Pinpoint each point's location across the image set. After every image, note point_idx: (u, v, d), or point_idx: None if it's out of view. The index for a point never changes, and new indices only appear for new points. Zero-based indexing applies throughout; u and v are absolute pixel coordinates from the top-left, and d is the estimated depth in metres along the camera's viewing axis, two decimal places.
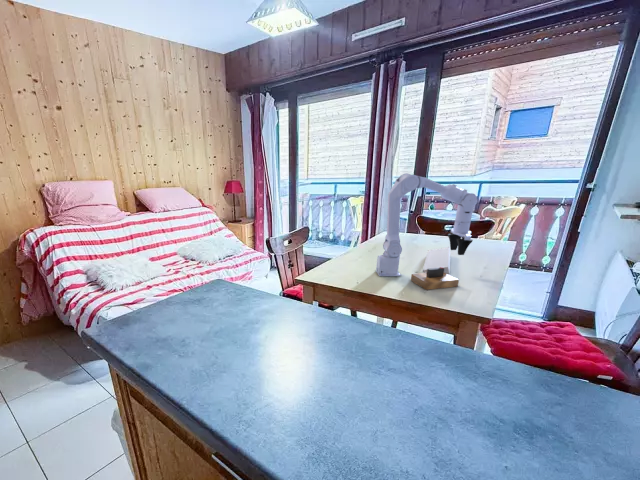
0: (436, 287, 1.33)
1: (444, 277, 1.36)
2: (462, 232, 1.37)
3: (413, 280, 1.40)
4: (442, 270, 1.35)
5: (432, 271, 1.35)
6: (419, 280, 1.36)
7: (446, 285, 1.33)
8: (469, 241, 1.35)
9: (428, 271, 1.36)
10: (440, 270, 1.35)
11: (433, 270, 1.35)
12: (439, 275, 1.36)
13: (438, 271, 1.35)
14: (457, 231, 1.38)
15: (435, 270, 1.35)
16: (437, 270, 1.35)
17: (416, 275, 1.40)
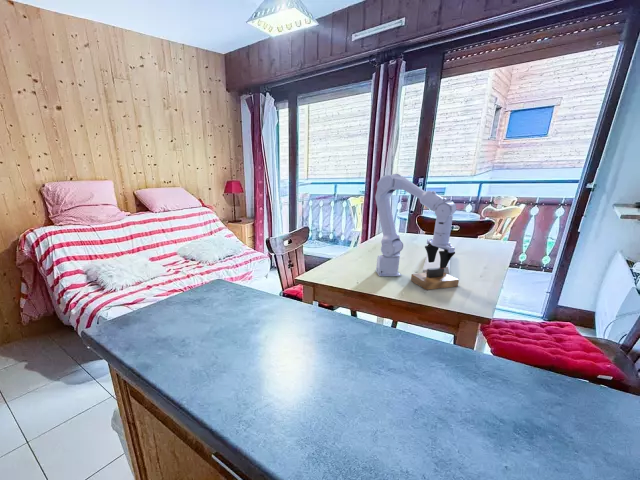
0: (436, 287, 1.33)
1: (444, 277, 1.36)
2: (443, 244, 1.29)
3: (413, 280, 1.40)
4: (442, 270, 1.35)
5: (432, 271, 1.35)
6: (419, 280, 1.36)
7: (446, 285, 1.33)
8: (452, 253, 1.27)
9: (428, 271, 1.36)
10: (440, 270, 1.35)
11: (433, 270, 1.35)
12: (439, 275, 1.36)
13: (438, 271, 1.35)
14: (438, 243, 1.30)
15: (435, 270, 1.35)
16: (437, 270, 1.35)
17: (416, 275, 1.40)
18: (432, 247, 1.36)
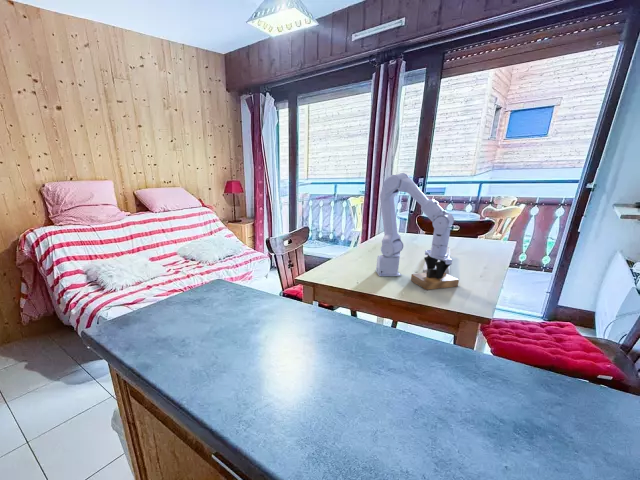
0: (436, 287, 1.33)
1: (444, 277, 1.36)
2: (441, 255, 1.31)
3: (413, 280, 1.40)
4: None
5: (432, 271, 1.35)
6: (419, 280, 1.36)
7: (446, 285, 1.33)
8: (448, 264, 1.30)
9: (428, 271, 1.36)
10: None
11: (433, 270, 1.35)
12: None
13: None
14: (436, 255, 1.31)
15: (435, 270, 1.35)
16: None
17: (416, 275, 1.40)
18: (431, 259, 1.37)
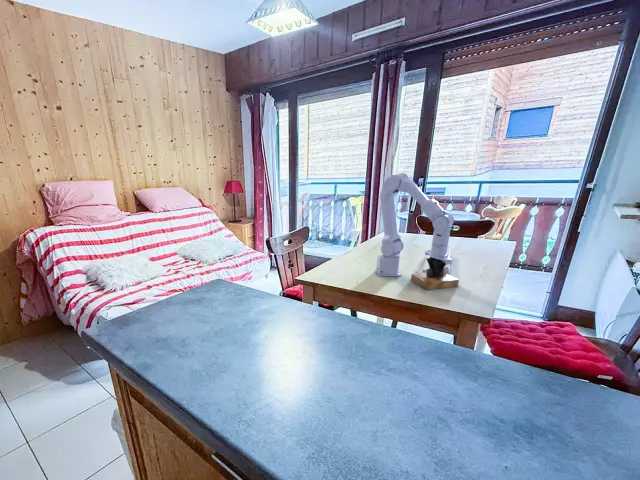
0: (436, 287, 1.33)
1: (444, 277, 1.36)
2: (441, 255, 1.31)
3: (413, 280, 1.40)
4: (442, 270, 1.35)
5: (432, 271, 1.35)
6: (419, 280, 1.36)
7: (446, 285, 1.33)
8: (445, 263, 1.32)
9: (428, 271, 1.36)
10: None
11: (433, 270, 1.35)
12: None
13: None
14: (436, 255, 1.31)
15: None
16: None
17: (416, 275, 1.40)
18: (434, 260, 1.35)
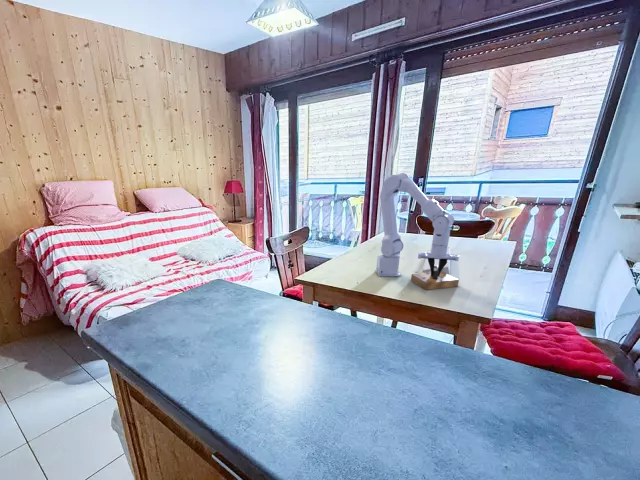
0: (436, 287, 1.33)
1: (444, 277, 1.36)
2: (446, 254, 1.32)
3: (413, 280, 1.40)
4: None
5: None
6: (419, 280, 1.36)
7: (446, 285, 1.33)
8: None
9: (436, 273, 1.33)
10: (437, 269, 1.37)
11: None
12: None
13: None
14: (443, 255, 1.31)
15: (437, 270, 1.35)
16: (437, 269, 1.36)
17: (416, 275, 1.40)
18: (434, 261, 1.34)
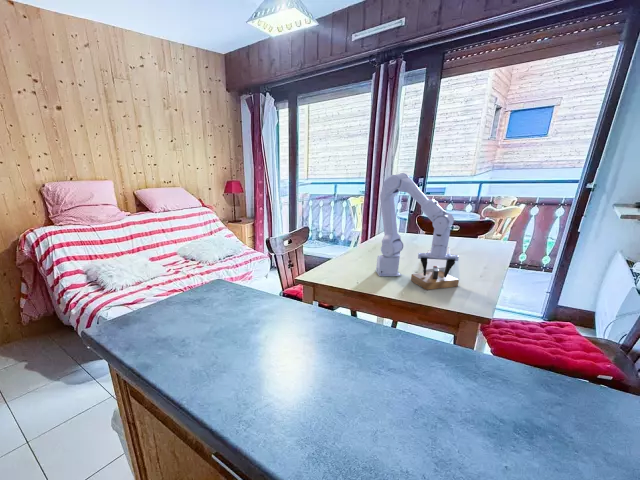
0: (436, 287, 1.33)
1: (444, 277, 1.36)
2: (446, 254, 1.32)
3: (413, 280, 1.40)
4: None
5: None
6: (419, 280, 1.36)
7: (446, 285, 1.33)
8: None
9: (436, 273, 1.33)
10: (437, 269, 1.37)
11: None
12: None
13: None
14: (443, 255, 1.31)
15: (437, 270, 1.35)
16: (437, 269, 1.36)
17: (416, 275, 1.40)
18: None
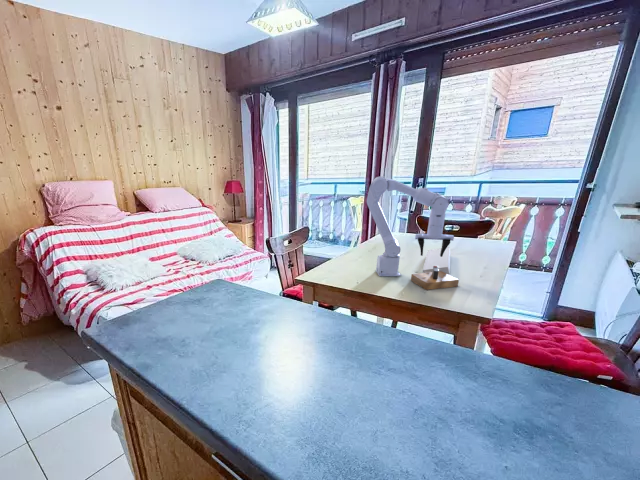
0: (436, 287, 1.33)
1: (444, 277, 1.36)
2: (442, 234, 1.38)
3: (413, 280, 1.40)
4: None
5: None
6: (419, 280, 1.36)
7: (446, 285, 1.33)
8: None
9: (436, 273, 1.33)
10: (437, 269, 1.37)
11: None
12: None
13: None
14: (439, 235, 1.37)
15: (437, 270, 1.35)
16: (437, 269, 1.36)
17: (416, 275, 1.40)
18: None
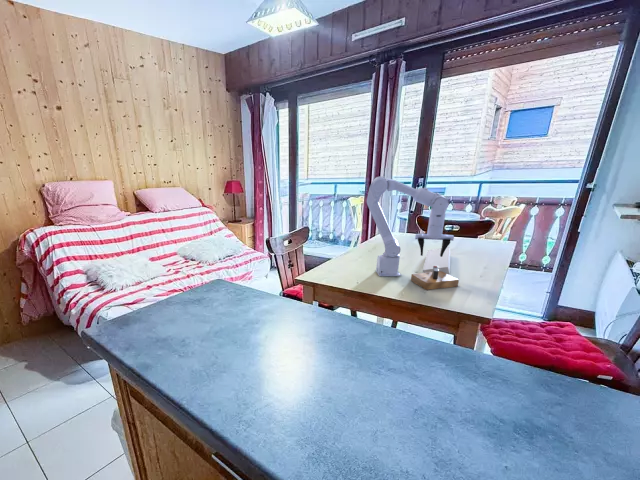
0: (436, 287, 1.33)
1: (444, 277, 1.36)
2: (442, 234, 1.38)
3: (413, 280, 1.40)
4: None
5: None
6: (419, 280, 1.36)
7: (446, 285, 1.33)
8: None
9: (436, 273, 1.33)
10: (437, 269, 1.37)
11: None
12: None
13: None
14: (439, 235, 1.37)
15: (437, 270, 1.35)
16: (437, 269, 1.36)
17: (416, 275, 1.40)
18: None
